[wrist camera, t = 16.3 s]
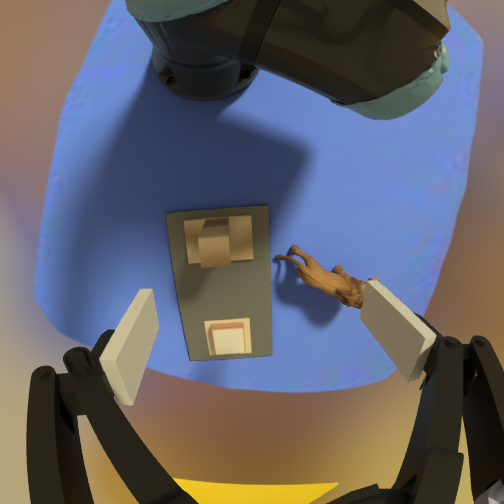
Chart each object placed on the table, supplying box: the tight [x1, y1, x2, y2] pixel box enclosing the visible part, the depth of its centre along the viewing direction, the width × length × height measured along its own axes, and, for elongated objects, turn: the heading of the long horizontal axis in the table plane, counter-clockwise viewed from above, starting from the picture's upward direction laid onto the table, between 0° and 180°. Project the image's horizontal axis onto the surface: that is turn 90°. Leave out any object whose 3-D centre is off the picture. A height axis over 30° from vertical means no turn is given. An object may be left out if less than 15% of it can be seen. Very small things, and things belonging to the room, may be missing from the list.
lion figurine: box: [275, 245, 380, 309], centre depth 37 cm, size 15×5×9 cm, turn 73°
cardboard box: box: [184, 215, 253, 268], centre depth 33 cm, size 6×9×11 cm, turn 93°
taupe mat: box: [166, 205, 272, 361], centre depth 41 cm, size 25×14×1 cm, turn 3°
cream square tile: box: [211, 322, 246, 355], centre depth 42 cm, size 5×5×2 cm
